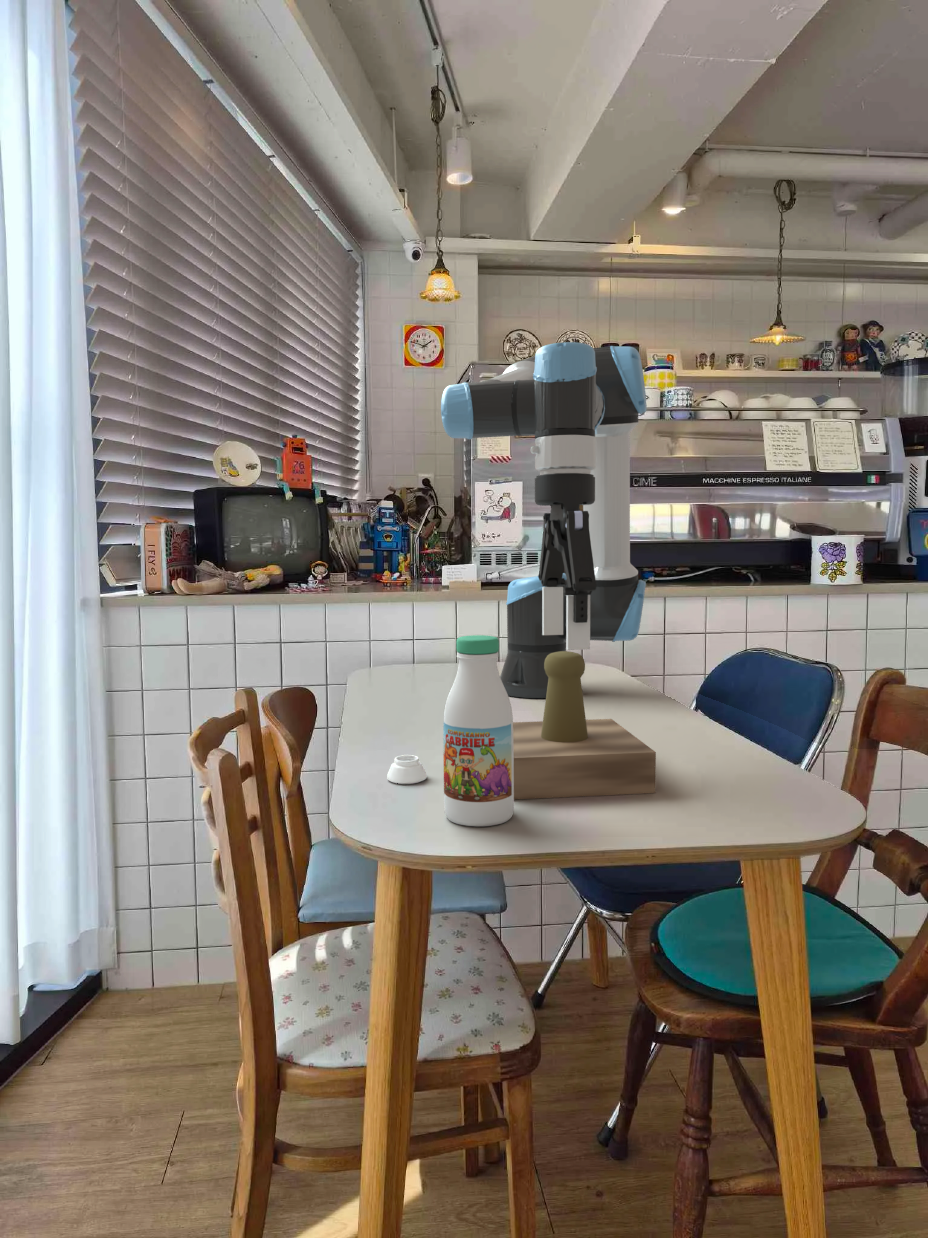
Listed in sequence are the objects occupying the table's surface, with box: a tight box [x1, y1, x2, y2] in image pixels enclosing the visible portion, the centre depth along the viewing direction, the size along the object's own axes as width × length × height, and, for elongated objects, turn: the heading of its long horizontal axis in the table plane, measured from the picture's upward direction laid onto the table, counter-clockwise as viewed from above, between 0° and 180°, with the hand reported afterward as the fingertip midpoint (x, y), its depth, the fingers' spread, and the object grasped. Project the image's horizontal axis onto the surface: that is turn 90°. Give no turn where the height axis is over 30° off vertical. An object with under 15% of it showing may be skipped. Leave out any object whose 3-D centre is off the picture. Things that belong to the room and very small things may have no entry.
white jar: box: [386, 754, 427, 785], centre depth 103 cm, size 5×3×5 cm
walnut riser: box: [513, 718, 657, 801], centre depth 104 cm, size 18×18×5 cm
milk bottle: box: [442, 634, 515, 827], centre depth 88 cm, size 8×8×20 cm
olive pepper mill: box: [541, 650, 588, 742], centre depth 104 cm, size 6×6×11 cm
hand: (564, 641), depth 103 cm, fingers open, 13 cm apart
